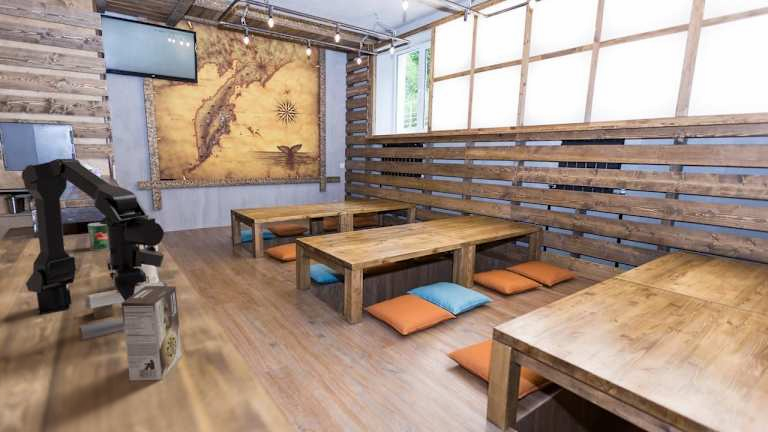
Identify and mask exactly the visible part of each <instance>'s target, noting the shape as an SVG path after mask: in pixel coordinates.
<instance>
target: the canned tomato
mask: <svg viewBox="0 0 768 432" xmlns="http://www.w3.org/2000/svg"><path fill="white" fill-rule="evenodd" d="M87 229H88V236H89V237H88V238H89V247H90V248H89V250H90V251H104V249H105V250H108V246H109V243H108V233H107V225H106V224H100V221H99V222H92V223H88V224H87Z"/></svg>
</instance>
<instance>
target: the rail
mask: <svg viewBox="0 0 768 432" xmlns="http://www.w3.org/2000/svg"><path fill="white" fill-rule="evenodd" d="M145 286H166V287H167V286H168V283H167V282H166V281H165V280H163V281H159V282H157V283H152V284H146V285H136V286H135V291H134V294H135V293H136V292H138V291H139V290H141V289H142V288H144V287H145ZM124 301H125V300H124V299H123V297H122V295H121V294H120V292H119V291H118V289H114V290H108V291H103V292H99V293H93V294H86V295H84V302H85V307H86V310H91V309H93V308H96V307H101V306H106V305H111V304H112V305H114V304H119V303H122V302H124Z"/></svg>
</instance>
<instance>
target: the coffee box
mask: <svg viewBox="0 0 768 432" xmlns="http://www.w3.org/2000/svg"><path fill="white" fill-rule="evenodd" d="M177 299H178V298H177V290H176V285H174V286H171V285H170V286H168V285H167V287H166V286H145V287H144V288H142V289H141V290H139V291H138V292H136V293H135V294H134V295H132V296H131V297H129V298H128V299H127V300H125V301H124V302H121V311H122V312H121V313H122V317H123V322H124V331H123V332H124V337H125V338H124V339H125V348H126V349H125V350H126V357H127V358H126V359H127V368H128V377H129V380H130V382H131V381H161V380H164V378H165V377H166V376H167V374H168V373H169V372H170V371H171V370H172V368H173V367H174V366H175V365H176V363H177V362H178V361H179V360H180V358H181V357H182V355H183V353H182V344H181V332H180V321H179V320H180V319H179V309H178V300H177Z"/></svg>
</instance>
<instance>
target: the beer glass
mask: <svg viewBox="0 0 768 432" xmlns="http://www.w3.org/2000/svg"><path fill="white" fill-rule="evenodd" d="M137 246H138V247H139V248H140V249H145V248H146V247H147V246H146V245H137ZM154 247H155V249H156V251H159V247H158V245H156V246H154ZM141 265H142V267H136V268H140V269H142V270H143V271H144V272H145V274H146V282H143V283H137V286H141V285H146V284H152V283H157V282H160V279H159V275H158V267H155V266H152V265H145V264H141Z"/></svg>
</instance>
